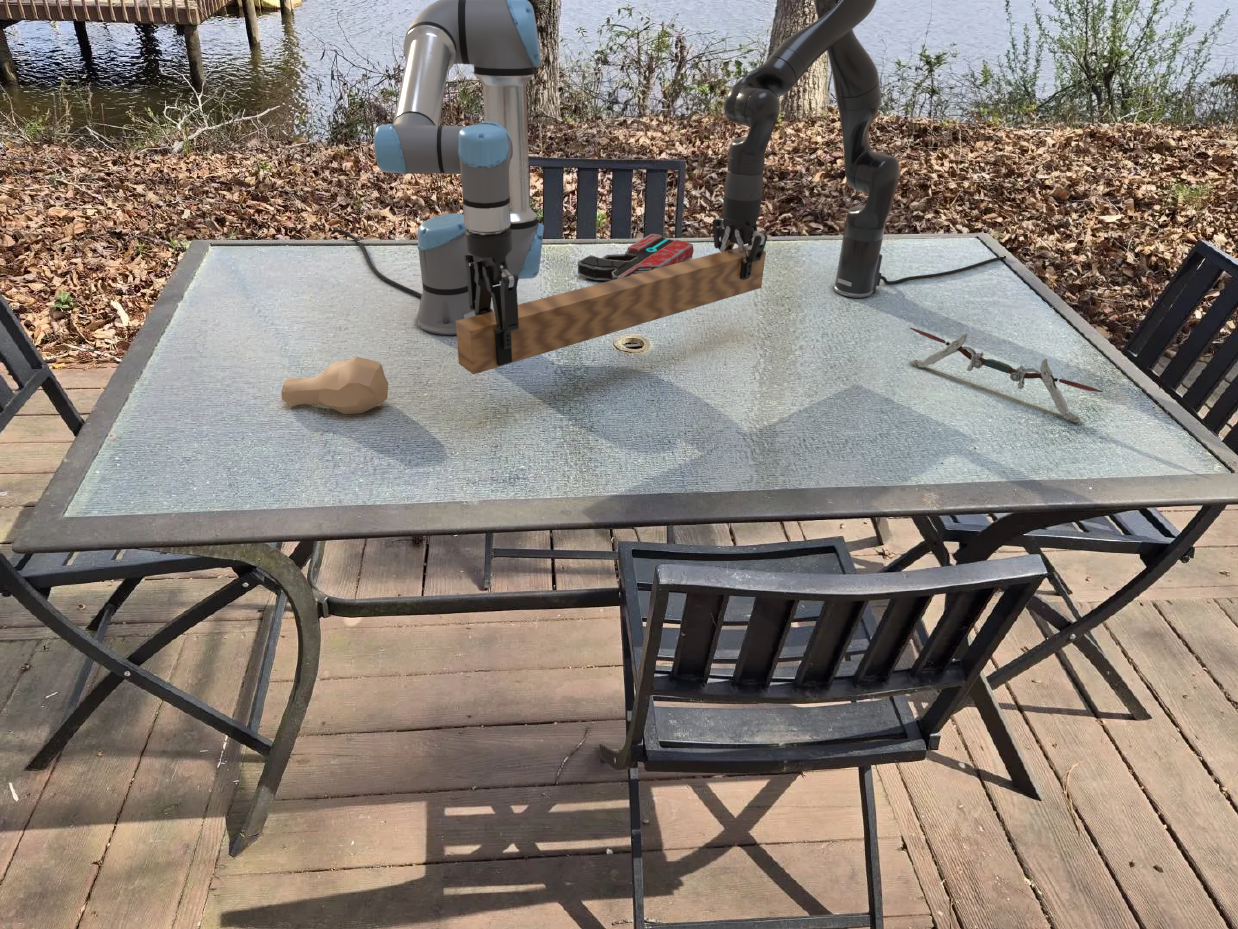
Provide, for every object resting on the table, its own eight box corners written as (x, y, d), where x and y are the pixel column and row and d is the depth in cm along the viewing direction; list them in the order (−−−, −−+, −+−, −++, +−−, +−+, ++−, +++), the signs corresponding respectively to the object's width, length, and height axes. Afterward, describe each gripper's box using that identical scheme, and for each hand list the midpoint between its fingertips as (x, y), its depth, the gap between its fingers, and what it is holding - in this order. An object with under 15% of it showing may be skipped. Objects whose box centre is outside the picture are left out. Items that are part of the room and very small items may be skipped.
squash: (388, 420, 161) (373, 382, 155) (283, 428, 163) (264, 391, 156) (399, 383, 169) (385, 345, 163) (299, 392, 170) (282, 354, 164)
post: (473, 374, 150) (470, 331, 146) (458, 363, 154) (455, 320, 149) (761, 287, 188) (766, 251, 183) (744, 280, 191) (749, 244, 186)
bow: (1091, 425, 165) (1109, 378, 160) (1088, 428, 164) (1106, 381, 159) (904, 358, 187) (914, 315, 181) (900, 361, 186) (910, 317, 180)
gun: (571, 262, 216) (639, 281, 209) (634, 226, 238) (698, 242, 231) (571, 279, 219) (638, 298, 211) (633, 242, 241) (696, 258, 233)
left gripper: (538, 239, 138) (541, 370, 151) (480, 209, 150) (488, 333, 163) (497, 248, 134) (504, 382, 147) (440, 217, 146) (452, 344, 159)
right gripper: (782, 199, 172) (772, 281, 182) (731, 181, 181) (724, 260, 191) (755, 205, 168) (746, 289, 178) (704, 187, 177) (698, 267, 187)
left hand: (495, 356), depth 155 cm, fingers closed on post, 5 cm apart
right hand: (734, 274), depth 184 cm, fingers closed on post, 5 cm apart
